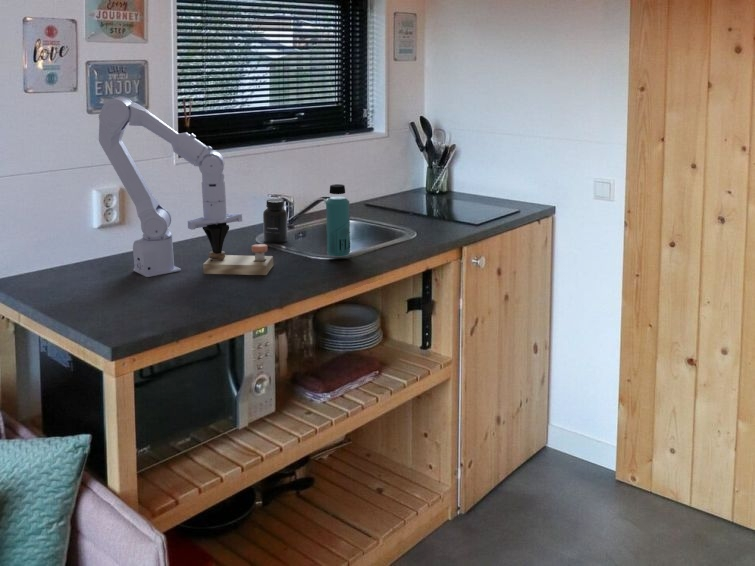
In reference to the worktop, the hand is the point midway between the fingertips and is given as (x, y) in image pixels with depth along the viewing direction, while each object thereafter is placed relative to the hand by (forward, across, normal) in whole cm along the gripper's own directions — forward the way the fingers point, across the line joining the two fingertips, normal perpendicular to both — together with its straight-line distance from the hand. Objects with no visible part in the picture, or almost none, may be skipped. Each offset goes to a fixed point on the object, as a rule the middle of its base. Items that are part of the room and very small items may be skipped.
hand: (217, 252), depth 218 cm
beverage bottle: (+5, +30, -12) cm, 33 cm away
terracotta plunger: (+2, +8, -8) cm, 11 cm away
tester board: (+4, +4, -4) cm, 7 cm away
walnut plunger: (+4, 0, 0) cm, 4 cm away
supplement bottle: (+5, +28, +15) cm, 32 cm away
